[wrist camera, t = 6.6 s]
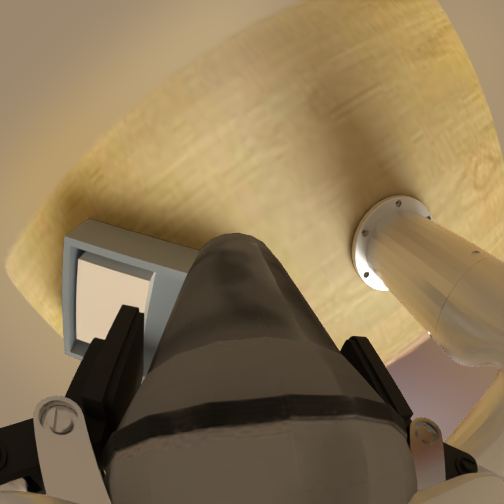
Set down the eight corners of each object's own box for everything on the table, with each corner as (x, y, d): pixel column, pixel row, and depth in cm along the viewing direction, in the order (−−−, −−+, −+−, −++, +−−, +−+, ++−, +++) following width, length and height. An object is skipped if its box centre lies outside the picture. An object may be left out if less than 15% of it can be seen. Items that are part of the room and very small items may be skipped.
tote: (255, 266, 33) (261, 292, 28) (216, 365, 39) (217, 396, 33) (88, 218, 29) (64, 236, 24) (80, 326, 34) (65, 354, 29)
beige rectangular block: (157, 264, 31) (149, 281, 27) (143, 338, 35) (137, 358, 31) (92, 244, 29) (78, 258, 26) (87, 320, 33) (76, 338, 29)
